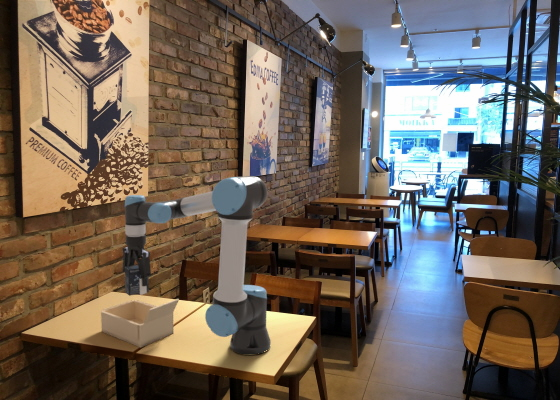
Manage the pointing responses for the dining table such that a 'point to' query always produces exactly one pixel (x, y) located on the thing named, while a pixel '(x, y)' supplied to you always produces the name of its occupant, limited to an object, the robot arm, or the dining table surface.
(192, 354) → the dining table surface
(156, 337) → the carton
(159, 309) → the flap
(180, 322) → the dining table surface
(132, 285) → the box
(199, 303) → the dining table surface
